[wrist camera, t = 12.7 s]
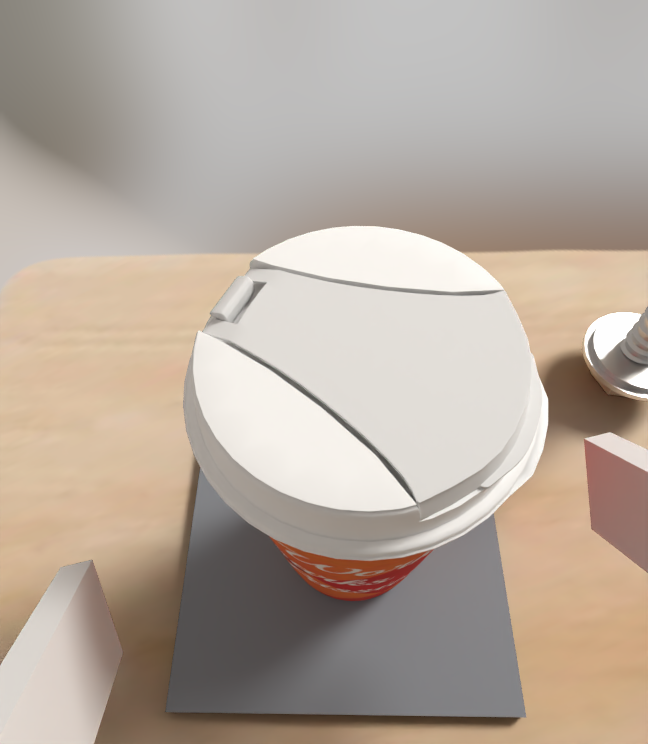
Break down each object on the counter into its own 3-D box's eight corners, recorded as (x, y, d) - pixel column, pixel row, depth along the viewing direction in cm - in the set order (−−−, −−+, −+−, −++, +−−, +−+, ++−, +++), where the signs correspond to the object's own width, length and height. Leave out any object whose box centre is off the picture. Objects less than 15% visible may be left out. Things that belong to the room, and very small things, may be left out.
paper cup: (227, 575, 21) (81, 426, 9) (311, 422, 25) (283, 175, 13) (405, 672, 19) (505, 638, 7) (470, 491, 23) (608, 273, 11)
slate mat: (472, 402, 26) (474, 397, 25) (522, 716, 19) (526, 717, 19) (212, 403, 26) (210, 398, 26) (169, 711, 19) (165, 712, 19)
